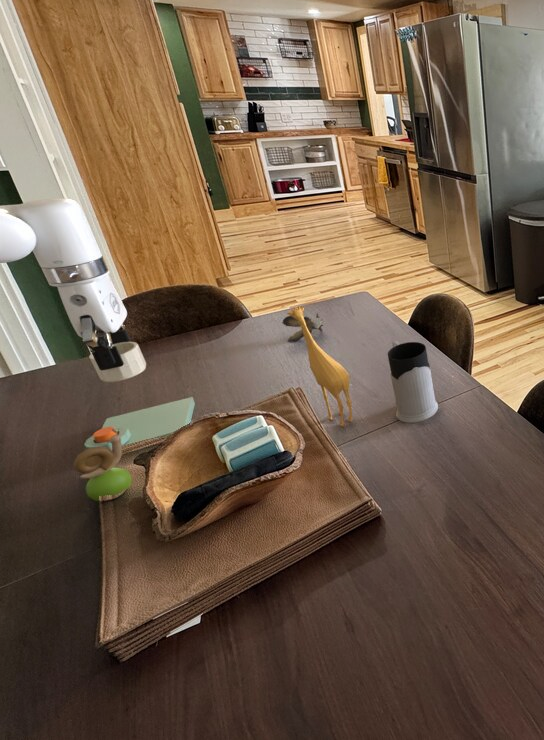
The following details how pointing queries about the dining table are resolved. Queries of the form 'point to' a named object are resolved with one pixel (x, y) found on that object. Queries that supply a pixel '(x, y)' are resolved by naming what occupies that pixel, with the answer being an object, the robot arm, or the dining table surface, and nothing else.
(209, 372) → the dining table surface
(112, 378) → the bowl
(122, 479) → the snail figurine
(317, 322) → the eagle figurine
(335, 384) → the giraffe
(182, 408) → the scale
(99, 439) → the button
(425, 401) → the glass holder
